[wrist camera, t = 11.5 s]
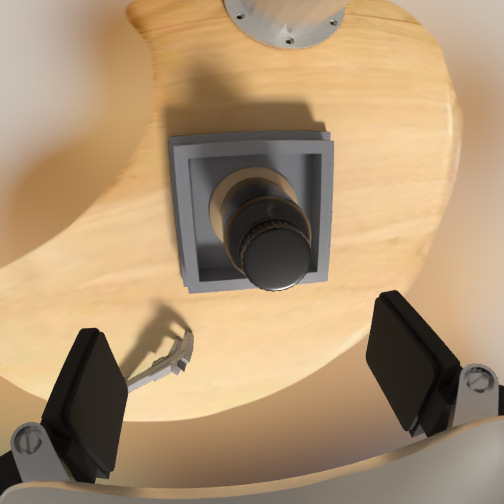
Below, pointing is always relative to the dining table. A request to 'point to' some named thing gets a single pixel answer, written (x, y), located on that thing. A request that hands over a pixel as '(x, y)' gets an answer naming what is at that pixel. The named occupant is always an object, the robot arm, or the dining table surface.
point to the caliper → (166, 363)
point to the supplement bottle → (266, 234)
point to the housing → (231, 172)
